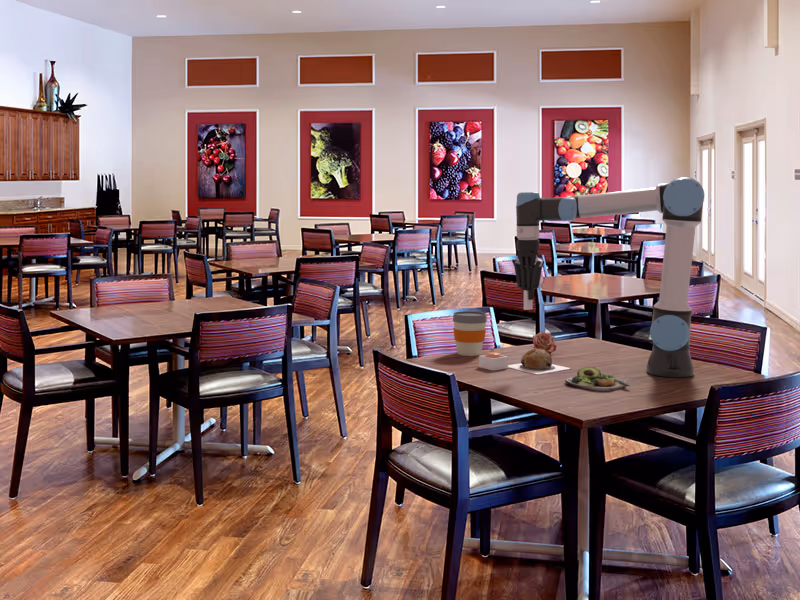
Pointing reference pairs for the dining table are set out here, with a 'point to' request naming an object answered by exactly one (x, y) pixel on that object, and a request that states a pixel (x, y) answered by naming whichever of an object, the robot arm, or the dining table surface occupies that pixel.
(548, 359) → the bread roll
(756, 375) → the dining table surface
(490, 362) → the button housing
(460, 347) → the reusable coffee cup
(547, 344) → the flower
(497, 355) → the button
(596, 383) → the salad plate
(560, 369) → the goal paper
